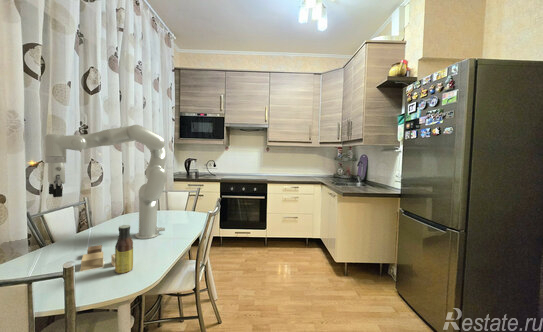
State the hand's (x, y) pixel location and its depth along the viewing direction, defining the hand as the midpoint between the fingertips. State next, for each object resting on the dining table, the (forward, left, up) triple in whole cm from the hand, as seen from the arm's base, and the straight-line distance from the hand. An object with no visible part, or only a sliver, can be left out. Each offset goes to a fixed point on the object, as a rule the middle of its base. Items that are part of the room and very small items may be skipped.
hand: (55, 195), depth 111 cm
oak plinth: (-17, +28, -26) cm, 42 cm away
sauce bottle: (-28, +39, -28) cm, 55 cm away
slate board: (-19, +28, -28) cm, 43 cm away
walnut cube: (-17, +17, -28) cm, 36 cm away
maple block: (-26, +31, -26) cm, 48 cm away
